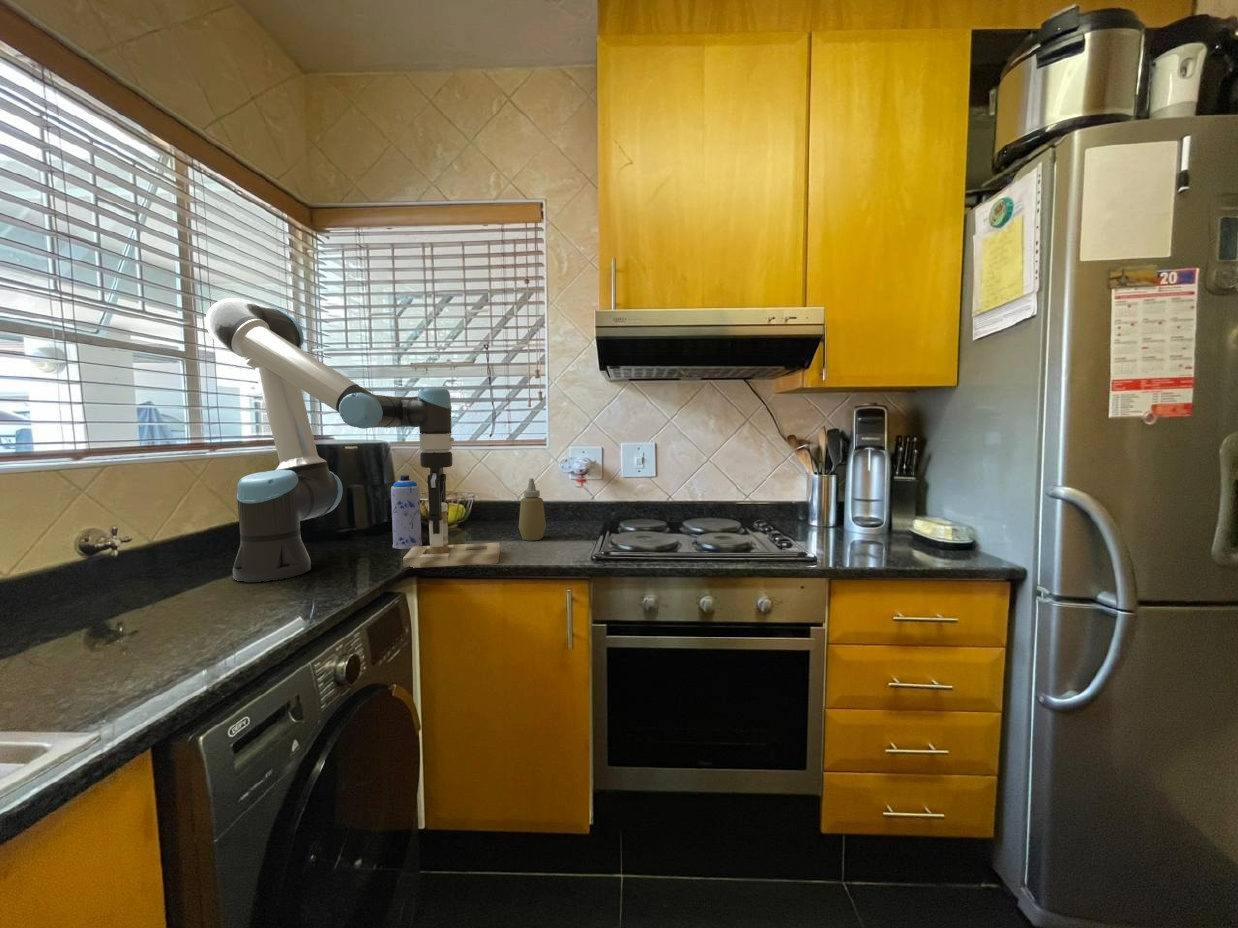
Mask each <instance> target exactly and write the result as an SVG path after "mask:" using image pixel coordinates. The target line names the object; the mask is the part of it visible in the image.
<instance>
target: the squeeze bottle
mask: <svg viewBox="0 0 1238 928" xmlns="http://www.w3.org/2000/svg"><path fill="white" fill-rule="evenodd" d="M534 479H535V478H529V479H528V485H527V489H526V490H524V491H523V498H522V499H521V500H520V505H519V519H518V530H519V532H520V535H521V538H522V540H524V541H529V542H531V541H532V542H533V541H534V542H535V541H538V540H539V541H540V540H542V539H543V537H544V535H545V531H546V528H547V521H546V516H545V515H546V513H545V507H544V506H545V505H544V499H543V498H542V497H540V490H537V488H536V483H535V480H534Z"/></svg>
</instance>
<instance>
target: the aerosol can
mask: <svg viewBox="0 0 1238 928" xmlns="http://www.w3.org/2000/svg"><path fill="white" fill-rule="evenodd" d="M419 486H420V485H419V484H417V482H415V481H414V480H412V479H410V475H409V474H407V475H405V474H403V475H400V480H397V481H396V482H394V483H393V485H392V486H391V487H390V495H391V496H390V498H391V499H390V501H391V518H392V519H391V520H392V521H391V522H392V525H391V526H392V543H393V544H392V548H393V549H397V550H407V549H409V550H410V549H411V548H412V547H417V546H423V542H422V524H421V523H422V521H421V519H422V517H421V496H420V493H421V492H420V487H419Z"/></svg>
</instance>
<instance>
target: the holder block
mask: <svg viewBox="0 0 1238 928" xmlns="http://www.w3.org/2000/svg"><path fill="white" fill-rule="evenodd" d="M500 545H501V542H482V543H463V544H460V543H459V544H448V553H442V554H430V545H421V546H417V547H412V548H410V549H409V551H407V553H406V554H405V555H404V556H403V559H402V561H403V562H402V563H403V566H410V567H413V568H412V569H416V568H421V569H422V568H436V567H437V568H439V567H453V566H456V567H457V566H473V565H474V566H475V565H490V564H491V565H494V564H498V563H499V559H500V553H501V552H500V551H501V547H500Z"/></svg>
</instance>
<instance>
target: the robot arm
mask: <svg viewBox="0 0 1238 928" xmlns="http://www.w3.org/2000/svg"><path fill="white" fill-rule="evenodd" d="M205 325H206V329H207V331H208V333H209V335H210V336H211V338H213V340H214V341H215V342H216V343H218V344H219V345H220V346H222V347H223V348H225V349H227V350H229V351H230V352H232V353H233V354H234V355H236V356H238V357H241V358H244V361H245V364H246V365H247V366H249V367H251V368H252V369H254V371H255V372H256V373H255V374H256V378H257V381H258V385H259V389H260V392H261V397H262V400H263V403H264V407H265V412H266V415H267V419H268V422H269V426H270V431H271V434H272V439H273V443H274V446H275V450H276V453H277V456H278V461H279V464H278V466H277V467H276V468H275V469H274V470H267V471H259V472H255V473H251V474H248V475H245V476H243V477H241V478H240V479H239V480H238V482H237V493H236V501H237V509H238V511H237V513H238V514H237V515H238V525H239V534H240V536H239V537H240V538H239V539H240V541H239V542H240V545H239V548H238V552H237V555H236V557H235V561H234V563H233V564H234V565H233V567H232V578H234V579H235V580H237V581H236V582H239V581H244V582H243V583H261V581H264V582H271V581H270V580H273V581H278V579H279V580H284V578H285V579H290V578H292V577H296V576H299V575H302V574H305V573H307V572H308V571H310V570H312V567H311V564H312V563H311V557H310V556H309V553H308V551H307V549H306V546H305V544H304V542H303V540H302V537H301V521H305V520H306V521H307V520H309V519H313V518H314V519H315V518H317V517H322V516H324V515H326V514H328V513H331V512H332V511H333V510H335V509H336V508H337V507H338V505H339V504H340V502H341V500H342V497H343V493H344V492H343V491H344V490H343V483H342V481H341V479H340V478H339V477H338V475H336V474H334V472H332V471H330V469H329V466H328V463H327V460H325V459H323V458H322V457H320V456H319V454H318V451H317V447H316V442H315V439H314V434H313V431H312V427H311V423H310V419H309V415H308V412H307V411H308V410H307V407H306V404H305V400H304V396H303V392H305V393H306V394H307V395H309V396H312V397H313V398H315V399H316V400H318V401H319V402H321V403H323V404H324V405H326V406H327V407H329V408H331V409H333V410H334V411H336V412H338V413H339V416H340V418H341V420H342V421H343V423H345V424H346V425H348V426H350V427H352V428H358V429H372V428H374V429H375V428H383V429H384V428H388V429H391V428H419V430H418V431H419V450H420V451H422V452H420V462H419V463H420V467H421V468H425V469H428V468H429V474H428V475H427V480H426V481H427V482H426V483H427V487H428V488H427V493H428V496H427V497H428V505H429V511H428V518H427V519H426V520H427V522H429V521H431V547H440V546H443V520H441V519H442V517H441V516H442V503H447V494H446V493H447V491H446V488H447V487H446V486H447V485H446V482H447V481H446V480H447V474H446V473H445V472H444V468H445V469H446V468H451V467H452V466H453V453H452V451H450V450H452V448H453V447H452V445H453V444H452V442H455V438H454V437H452V401H451V393H450V391H449V390H448V389H446V388H442V387H441V388H440V387H438V388H436V387H425V388H419V390H418V393H417V396H390V395H381V394H374V393H372V392H370V391H369V390H368V389H365V388H364V387H362V386H360V385H359V384H358V383H356V382H354V381H353V380H351V379H349V377H346V376H345V375H344V374H341V373H340V372H338V371H337V370H335V369H333V368H332V367H330V366H328V365H327V364H326V363H324V362H322V361H321V360H319V359H318V358H316V357H314V356H312V355H311V354H310V353H307V352H306V351H305V350H303V349H302V346H303V345H304V332H303V329H302V327H301V325H300V323H299V322H298V321H297V320H296V318H294V316H292V315H290V314H289V313H287V312H285V311H283V310H281V309H278V308H274V307H269V306H264V305H261V304H259V303H258V304H257V303H256V302H252V301H248V300H245V299H242V298H225V299H224V298H223V299H221V300H219V301H217V302H215V303H214V304H213V305H211V306H210V308H209V309H208V310H207V313H206V316H205ZM302 391H303V392H302ZM448 516H449V512H448V511H447V517H448ZM234 579H233V580H234ZM235 580H234V581H235Z"/></svg>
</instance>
